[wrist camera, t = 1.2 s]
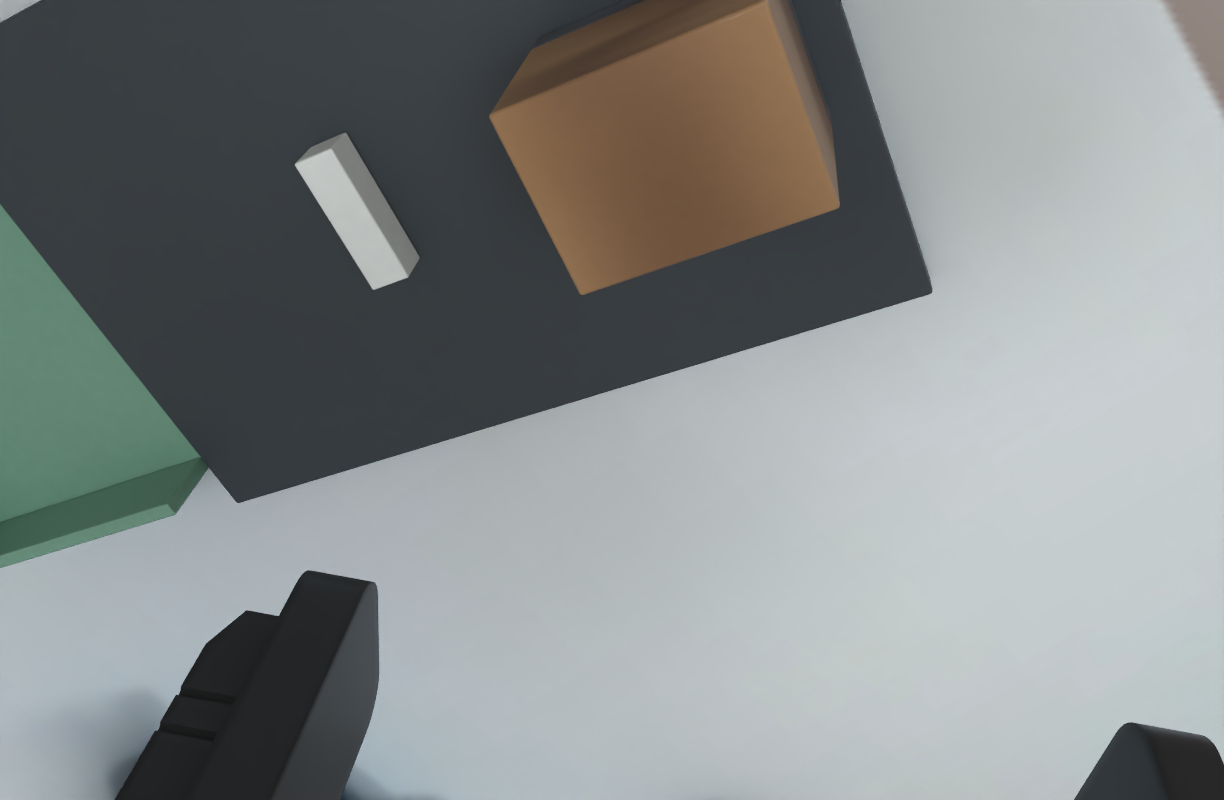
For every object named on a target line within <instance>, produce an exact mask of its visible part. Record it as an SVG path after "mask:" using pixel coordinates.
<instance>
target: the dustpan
mask: <svg viewBox="0 0 1224 800" xmlns="http://www.w3.org/2000/svg"><path fill="white" fill-rule="evenodd" d="M207 469H208V466H207V464H206V463H205V462H204V461H203V459H202V458H201V457H200V456H199V454H198V453H197V452H196V451H195V449H194V448H193V447H192V445H191V444H190V443H189V442H188V440H187V439H186V438H185V437H184V435H183V434H182V433H181V432H180V430H179V429H178V428H177V427H176V425H175V424H174V423H173V422H172V420H171V419H170V418H169V417H168V415H167V414H166V413H165V411H164V410H163V409H162V408H161V406H160V405H159V404H158V403H157V401H156V400H155V399H154V398H153V396H152V395H151V394H150V393H149V391H148V390H147V389H146V388H145V386H144V385H143V384H142V382H141V381H140V380H139V379H138V377H137V376H136V375H135V374H134V372H133V371H132V370H131V369H130V367H129V366H128V365H127V364H126V362H125V361H124V360H123V359H122V357H121V356H120V355H119V353H118V352H117V351H116V350H115V348H114V347H113V346H112V345H111V343H110V342H109V341H108V340H107V338H106V337H105V336H104V335H103V333H102V332H101V331H100V330H99V328H98V327H97V326H96V324H95V323H94V322H93V321H92V319H91V318H90V317H89V316H88V314H87V313H86V312H85V311H84V309H83V308H82V307H81V306H80V304H79V303H78V302H77V301H76V299H75V298H74V297H73V295H72V294H71V293H70V292H69V290H68V289H67V288H66V287H65V285H64V284H63V283H62V282H61V280H60V279H59V278H58V277H57V275H56V274H55V273H54V272H53V270H52V269H51V268H50V267H49V265H48V264H47V263H46V261H45V260H44V259H43V258H42V256H41V255H40V254H39V253H38V251H37V250H36V249H35V248H34V246H33V245H32V244H31V243H30V241H29V240H28V239H27V238H26V236H25V235H24V234H23V232H22V231H21V230H20V229H19V227H18V226H17V225H16V224H15V222H14V221H13V220H12V219H11V217H10V216H9V215H8V214H7V212H6V211H5V210H4V209H3V207H2V206H1V205H0V568H2V567H6V566H9V565H12V564H15V563H19V562H22V561H25V560H28V559H32V558H35V557H38V556H42V555H45V554H48V553H51V552H55V551H58V550H61V549H64V548H68V547H71V546H74V545H78V544H81V543H84V542H87V541H91V540H94V539H97V538H100V537H104V536H107V535H110V534H114V533H117V532H120V531H123V530H127V529H130V528H133V527H136V526H140V525H143V524H146V523H150V522H153V521H156V520H159V519H163V518H166V517H169V516H172V515H175V514H176V513H177V512H178V510H179V509H180V507H181V506H182V504H183V503H184V502H185V500H186V499H187V497H188V496H189V495H190V493H191V492H192V490H193V489H194V488H195V486H196V485H197V483H198V482H199V480H200V479H201V478H202V476H203V475H204V473H205V472H206V471H207Z"/></svg>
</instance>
